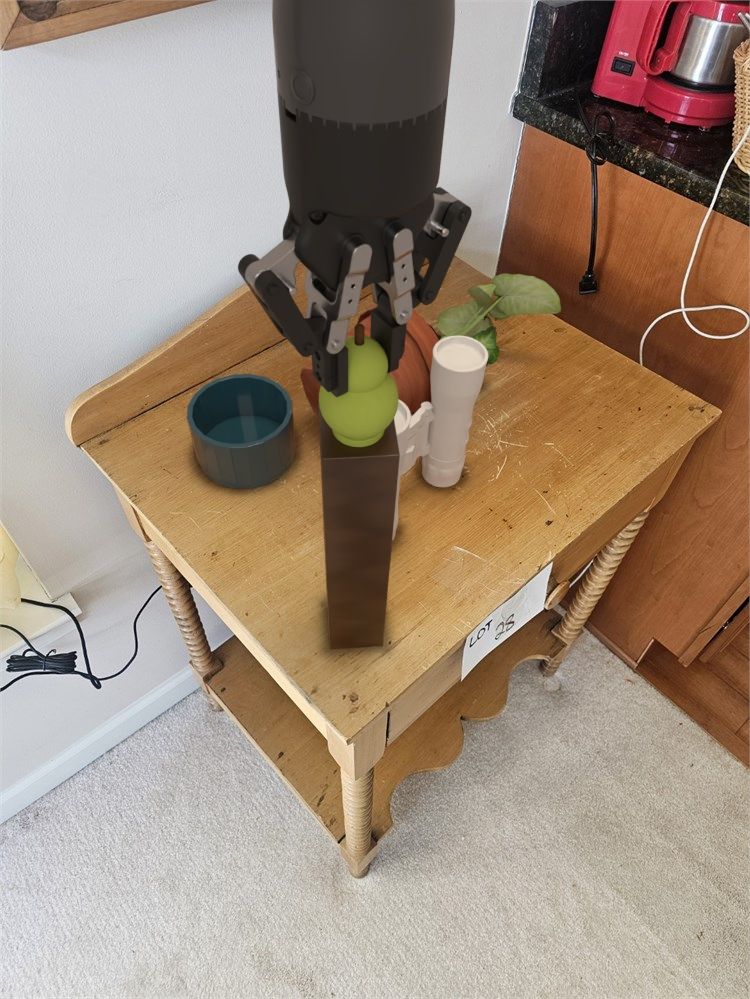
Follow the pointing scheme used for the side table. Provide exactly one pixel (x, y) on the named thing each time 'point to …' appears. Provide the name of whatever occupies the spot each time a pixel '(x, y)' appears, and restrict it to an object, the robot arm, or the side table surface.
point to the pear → (362, 394)
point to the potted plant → (454, 332)
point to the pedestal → (357, 534)
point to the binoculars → (442, 414)
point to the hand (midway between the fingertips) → (358, 375)
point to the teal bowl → (242, 430)
